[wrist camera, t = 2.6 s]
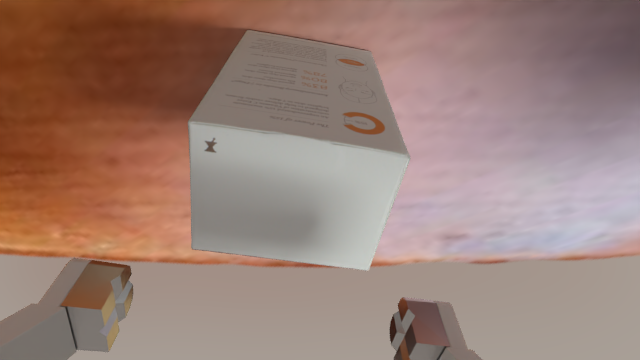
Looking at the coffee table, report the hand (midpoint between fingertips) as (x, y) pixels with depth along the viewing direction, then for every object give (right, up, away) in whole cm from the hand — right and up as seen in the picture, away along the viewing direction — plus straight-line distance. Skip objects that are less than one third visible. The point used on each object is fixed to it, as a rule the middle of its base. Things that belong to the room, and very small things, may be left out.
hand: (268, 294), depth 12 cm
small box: (0, +10, +14) cm, 17 cm away
